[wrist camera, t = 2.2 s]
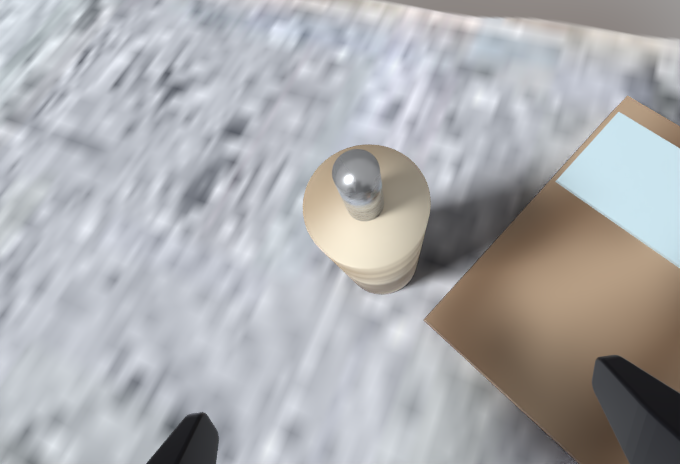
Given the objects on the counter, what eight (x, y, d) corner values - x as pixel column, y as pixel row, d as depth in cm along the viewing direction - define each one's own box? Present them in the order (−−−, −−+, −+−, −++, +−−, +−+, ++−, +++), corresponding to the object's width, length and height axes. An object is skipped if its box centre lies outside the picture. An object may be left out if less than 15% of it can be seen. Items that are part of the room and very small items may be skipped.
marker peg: (432, 256, 21) (473, 161, 9) (383, 309, 21) (358, 285, 9) (379, 211, 22) (352, 73, 10) (332, 260, 22) (247, 179, 10)
